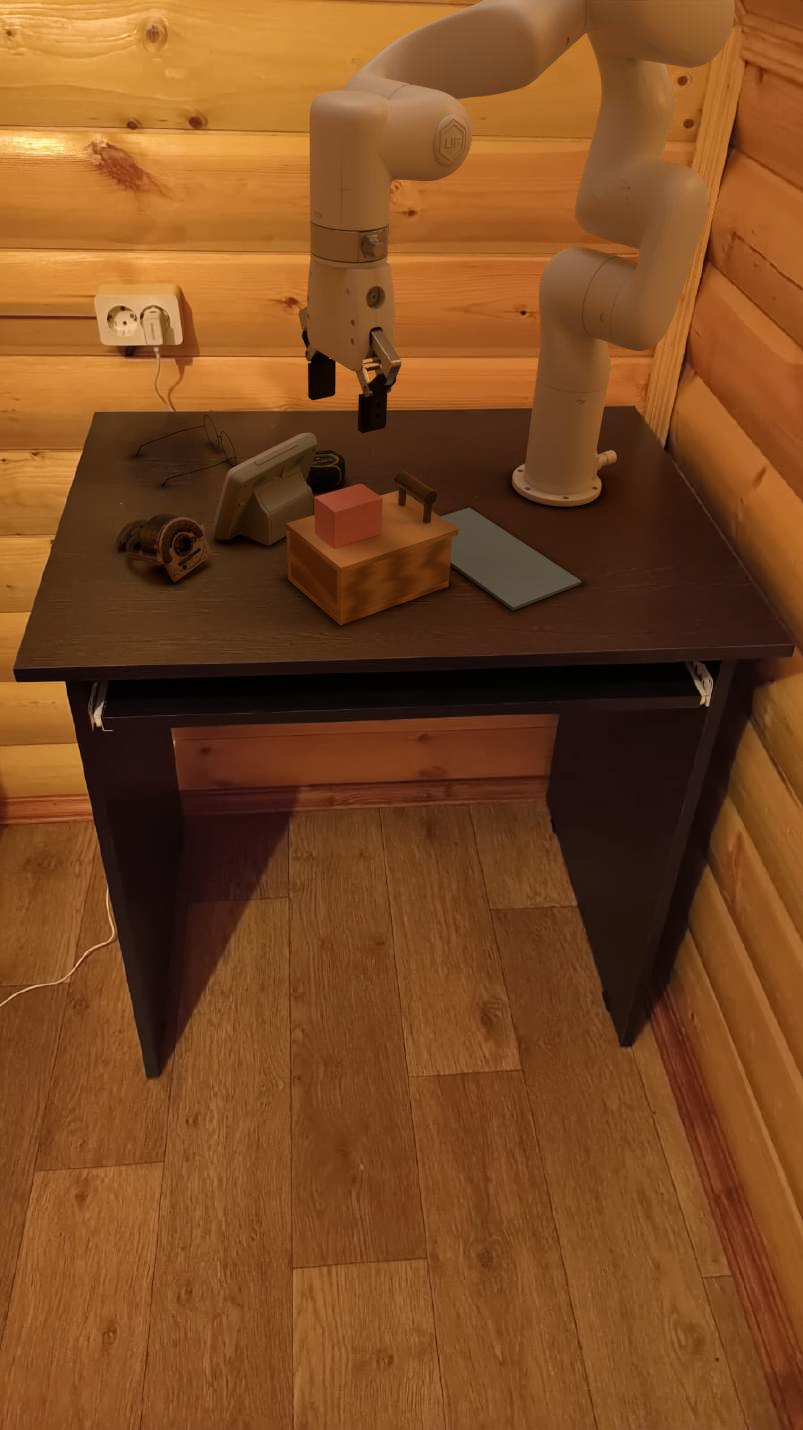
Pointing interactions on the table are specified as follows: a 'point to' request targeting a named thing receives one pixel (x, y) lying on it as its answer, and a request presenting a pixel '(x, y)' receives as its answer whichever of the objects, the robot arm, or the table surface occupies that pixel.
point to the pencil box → (368, 579)
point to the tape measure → (326, 470)
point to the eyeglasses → (210, 442)
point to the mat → (503, 562)
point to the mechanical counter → (167, 543)
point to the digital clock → (267, 492)
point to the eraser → (348, 515)
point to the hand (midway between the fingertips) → (346, 413)
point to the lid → (384, 528)
